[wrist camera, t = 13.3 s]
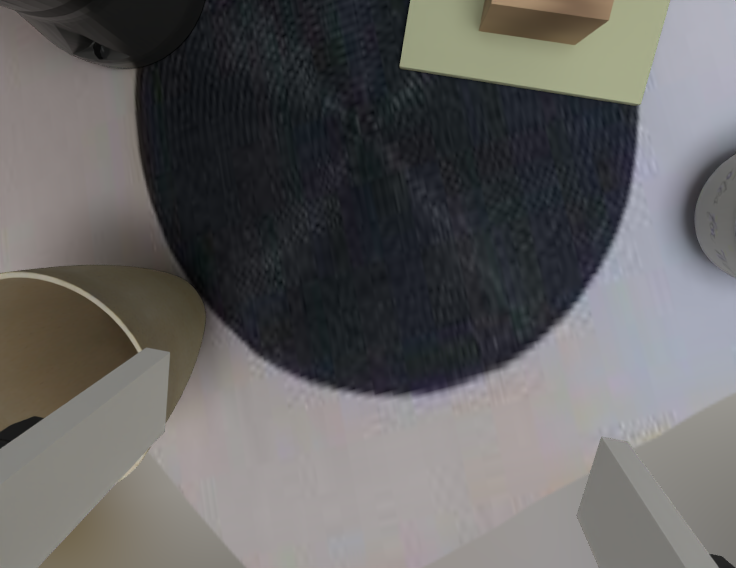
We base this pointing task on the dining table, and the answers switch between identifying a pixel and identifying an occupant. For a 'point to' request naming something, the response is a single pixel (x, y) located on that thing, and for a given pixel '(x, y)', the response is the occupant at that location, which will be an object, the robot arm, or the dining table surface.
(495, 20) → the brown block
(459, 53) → the olive mat
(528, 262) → the dining table surface
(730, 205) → the teacup
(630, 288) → the dining table surface
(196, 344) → the plant pot
